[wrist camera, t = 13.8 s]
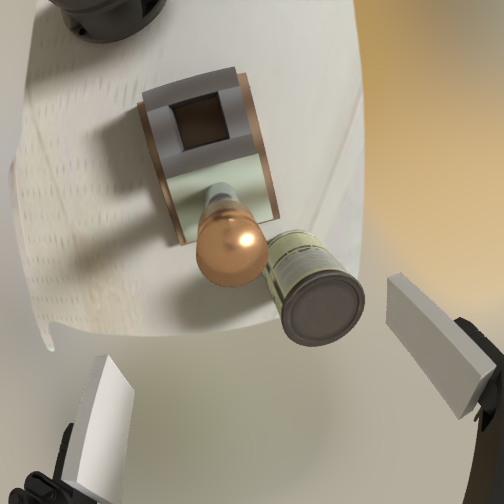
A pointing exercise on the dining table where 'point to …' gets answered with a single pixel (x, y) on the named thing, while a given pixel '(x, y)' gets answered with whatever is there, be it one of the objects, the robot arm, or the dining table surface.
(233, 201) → the peg
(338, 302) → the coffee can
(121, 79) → the dining table surface
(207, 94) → the board
